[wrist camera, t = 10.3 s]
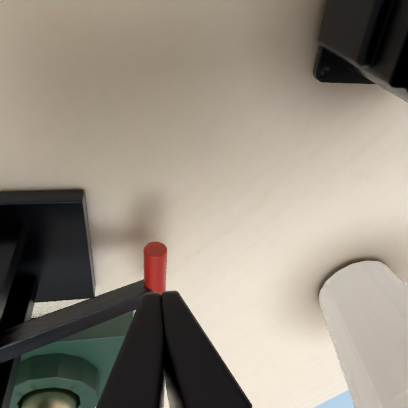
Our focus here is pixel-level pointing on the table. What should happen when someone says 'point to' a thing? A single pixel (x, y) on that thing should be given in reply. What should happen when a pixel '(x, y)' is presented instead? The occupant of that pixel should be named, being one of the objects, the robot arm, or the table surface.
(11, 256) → the bracket
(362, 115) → the table surface
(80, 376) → the button box
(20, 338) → the lever
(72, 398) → the button
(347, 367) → the cup
